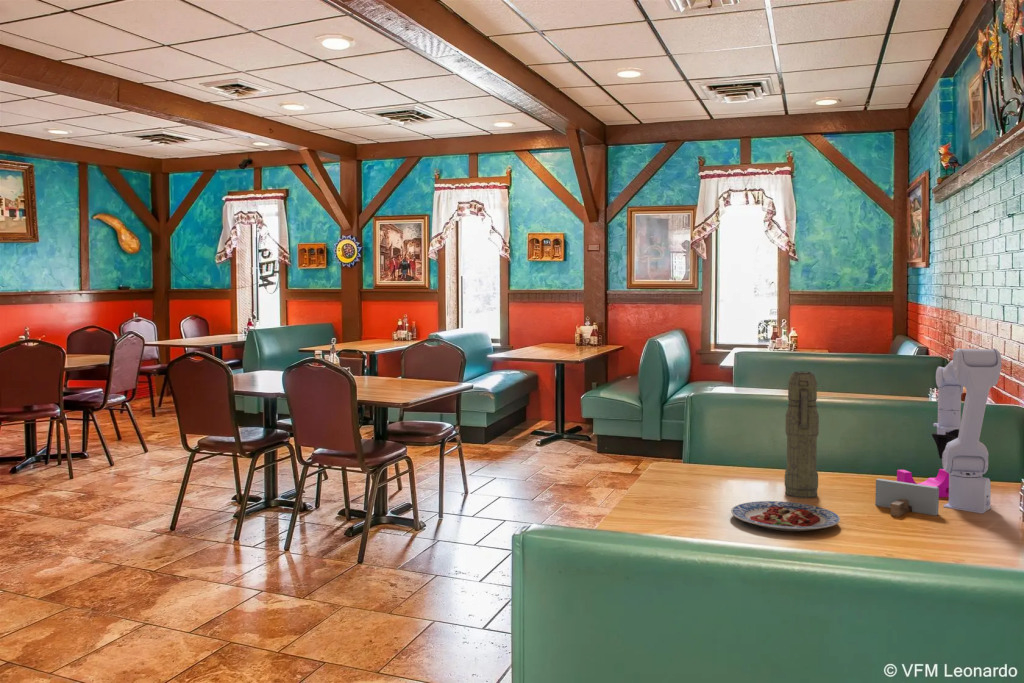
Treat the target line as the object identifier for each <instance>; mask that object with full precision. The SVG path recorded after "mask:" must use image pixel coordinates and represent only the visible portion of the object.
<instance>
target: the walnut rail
mask: <svg viewBox="0 0 1024 683" xmlns="http://www.w3.org/2000/svg"><path fill="white" fill-rule="evenodd" d="M910 511H912V506H909V505H908V500H903V499H899V500H897V501H895V502H893V503H891V508H890V516H892V517H901V516H902V515H904V514H907V513H908V512H910Z"/></svg>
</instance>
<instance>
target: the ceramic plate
mask: <svg viewBox="0 0 1024 683" xmlns="http://www.w3.org/2000/svg"><path fill="white" fill-rule="evenodd" d="M730 512H731V514H732V516H733V517H735V518H736V519H738V520H740V521H742V522H745V523H749V524H753V525H755V526H757V527H761V528H765V529H769V530H774V531H783V532H806V531H812V530H817V529H826V528H829V527H834V526H836V525H837V524H839V523H840V521H841V517H840V516H839V515H838V514H837V513H836V512H833V511H832V510H830V509H827V508H823V507H821V506H816V505H812V504H807V503H801V502H794V501H793V502H791V501H782V500H780V501H779V500H778V501H777V500H776V501H775V500H761V501H759V500H757V501H750V502H744V503H743V502H742V503H739V504H737V505H735V506H733V507H732V508H731V510H730Z"/></svg>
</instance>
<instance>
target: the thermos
mask: <svg viewBox="0 0 1024 683" xmlns="http://www.w3.org/2000/svg"><path fill="white" fill-rule="evenodd" d="M787 384H788V385H787V386H788V391H787V393H788V394H787V400H788V404H787V410H786V412H785V434H786V468H785V471H784V488H785V489H784V490H785V492H784V494H785V495H786V496H788V497H791V498H796V499H797V498H798V499H815V498H817V497H818V489H819V474H818V470H817V455H818V454H817V452H818V451H817V447H818V446H817V445H818V444H817V443H818V442H817V440H818V436H819V431H820V430H819V428H820V426H819V424H820V422H819V421H820V415H819V413H818V412H819V411H818V409H817V408H818V407H817V406H818V405H817V400H818V381H817V379H816V376H815V374H814V373H812V372H811V371H793V372H792V373H791V374H790V376H789V380H788V382H787Z"/></svg>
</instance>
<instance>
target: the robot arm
mask: <svg viewBox="0 0 1024 683" xmlns="http://www.w3.org/2000/svg"><path fill="white" fill-rule="evenodd" d="M1001 355H1002V354H1001V352H1000V351H999V350H998V349H997V348H990V349H989V348H958V347H957V348H956V349H955V350H954V352H953V354H952V360H950V361H949V362H948V363H947V365H946V366H944V367H943V366H937V368H936V371H935V384H936V386H937V389H938V390H937V391H938V394H937V395H938V396H937V422H934V423H933V424H932V426H933V427H936V432H933V433H931V436H932V438H933V440H934V443H935V446H936V449H937V453H938V456H939V459H940V460H941V464H942V469H944V470H945V471H946V472H948V473H949V497H948V503H947V502H946V503H945V504H944V505H942V506H943V508H946V509H952V510H957V511H965V512H971V513H975V514H976V513H977V514H984V513H986V512H988V510H990V509H992V507H991V497H992V496H991V495H992V494H991V492H992V491H991V489H992V488H991V487H992V486H991V485H992V484H991V479H990V478H989V477H983V475H984V474H986V473H987V471H988V469H989V455H990V454H989V451H988V448H987V447H986V445H985V444H984V443H983V442H982V441H980V437H981V431H982V428H983V422H984V418H985V417H984V416H985V411H986V406H987V402H988V397H989V394H990V390H991V388H993V387H995V386H996V385H998V382H999V379H1000V375H1001V370H1002V356H1001ZM964 388H965V390H966V393H965V398H964V403H963V408H962V395H963V393H964ZM961 408H962V409H961Z"/></svg>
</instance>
